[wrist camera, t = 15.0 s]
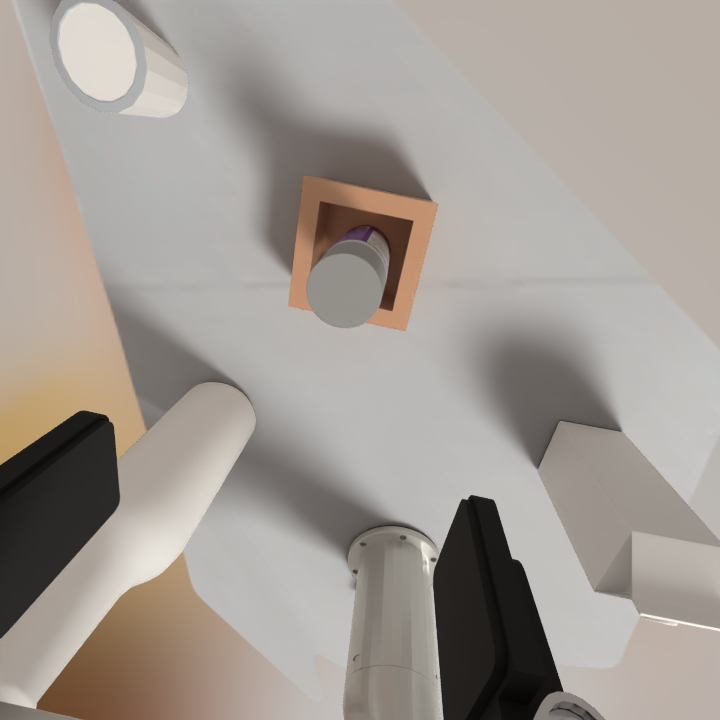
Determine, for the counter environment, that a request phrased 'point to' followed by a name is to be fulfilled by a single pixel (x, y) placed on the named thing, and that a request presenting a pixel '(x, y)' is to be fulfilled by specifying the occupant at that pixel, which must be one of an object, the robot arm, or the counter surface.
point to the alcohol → (131, 533)
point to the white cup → (115, 60)
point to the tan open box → (355, 208)
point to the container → (350, 278)
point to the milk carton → (632, 527)
